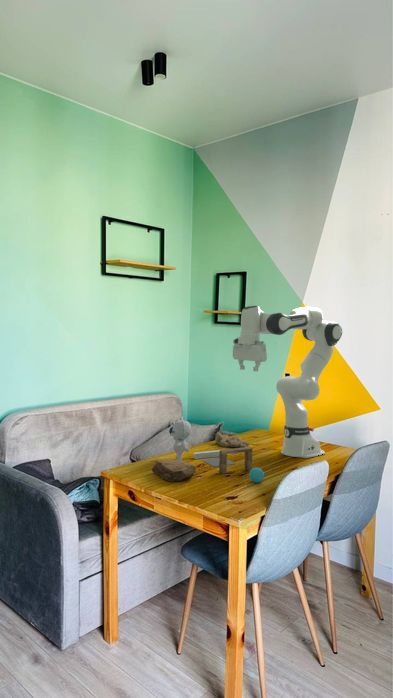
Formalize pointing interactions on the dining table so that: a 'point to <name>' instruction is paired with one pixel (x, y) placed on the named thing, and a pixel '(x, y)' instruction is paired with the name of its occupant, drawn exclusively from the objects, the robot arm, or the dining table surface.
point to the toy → (180, 436)
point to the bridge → (237, 450)
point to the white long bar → (206, 454)
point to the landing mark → (216, 462)
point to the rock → (173, 469)
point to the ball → (256, 475)
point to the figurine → (230, 441)
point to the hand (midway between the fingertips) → (248, 370)
